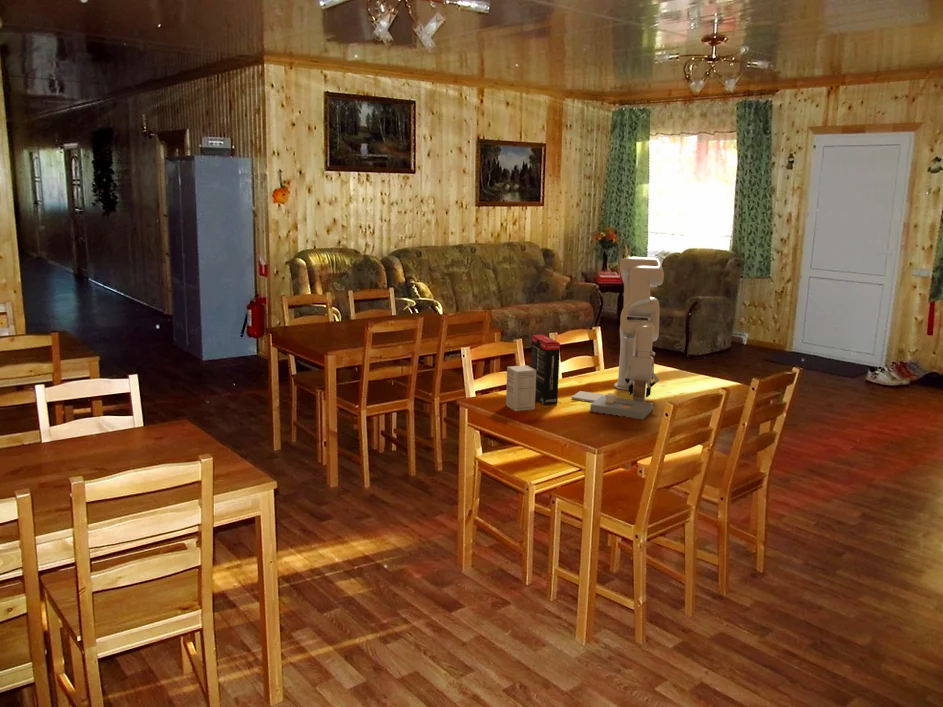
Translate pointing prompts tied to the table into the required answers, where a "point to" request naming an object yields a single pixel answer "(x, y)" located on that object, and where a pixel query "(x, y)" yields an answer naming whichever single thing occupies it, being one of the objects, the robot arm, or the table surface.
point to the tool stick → (639, 390)
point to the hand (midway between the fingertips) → (639, 394)
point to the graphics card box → (546, 368)
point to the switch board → (622, 407)
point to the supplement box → (521, 388)
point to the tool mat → (587, 396)
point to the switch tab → (610, 397)
